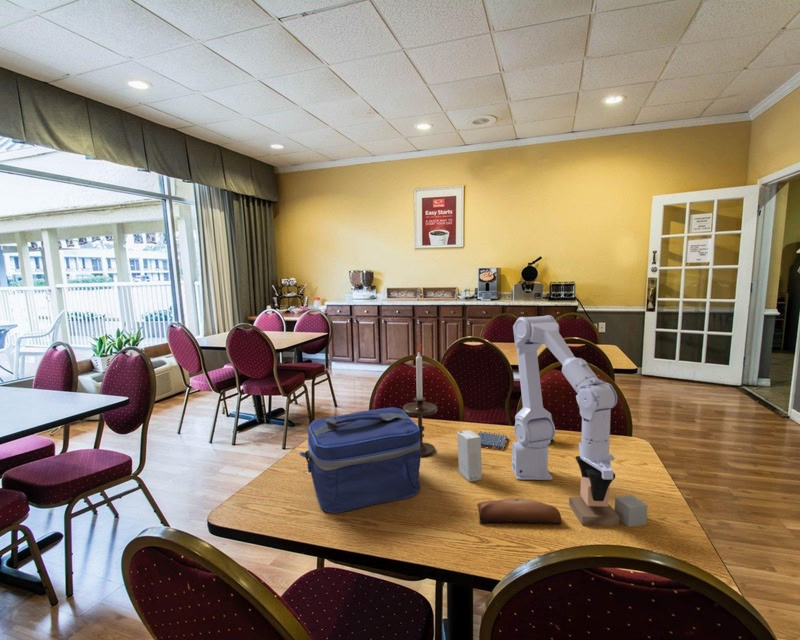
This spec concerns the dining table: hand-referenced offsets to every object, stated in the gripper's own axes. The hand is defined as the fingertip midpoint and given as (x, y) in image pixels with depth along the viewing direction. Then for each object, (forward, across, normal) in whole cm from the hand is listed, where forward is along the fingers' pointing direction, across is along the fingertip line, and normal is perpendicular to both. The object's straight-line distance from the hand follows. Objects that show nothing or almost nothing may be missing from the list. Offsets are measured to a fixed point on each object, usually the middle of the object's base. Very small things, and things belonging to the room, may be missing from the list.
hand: (593, 494), depth 93 cm
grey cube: (+5, -2, -8) cm, 9 cm away
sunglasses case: (+6, 0, +17) cm, 18 cm away
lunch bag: (+5, +11, +55) cm, 56 cm away
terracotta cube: (+2, 0, 0) cm, 2 cm away
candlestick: (+5, +34, +40) cm, 53 cm away
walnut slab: (+6, 0, 0) cm, 6 cm away
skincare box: (+5, +18, +26) cm, 32 cm away
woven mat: (+6, +40, +18) cm, 44 cm away
